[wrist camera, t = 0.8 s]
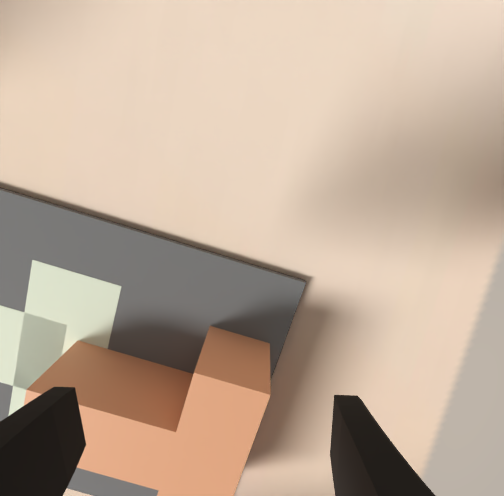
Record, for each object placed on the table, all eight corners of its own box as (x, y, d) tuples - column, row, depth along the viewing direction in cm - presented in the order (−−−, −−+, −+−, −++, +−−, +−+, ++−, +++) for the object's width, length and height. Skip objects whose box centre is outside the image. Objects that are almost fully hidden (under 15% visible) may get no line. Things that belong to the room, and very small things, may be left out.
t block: (221, 479, 22) (210, 557, 18) (59, 434, 22) (7, 502, 18) (269, 343, 20) (270, 394, 16) (87, 289, 20) (36, 326, 15)
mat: (216, 523, 24) (216, 530, 23) (-139, 424, 23) (-146, 428, 23) (305, 280, 19) (305, 283, 19) (-131, 147, 19) (-140, 147, 18)
